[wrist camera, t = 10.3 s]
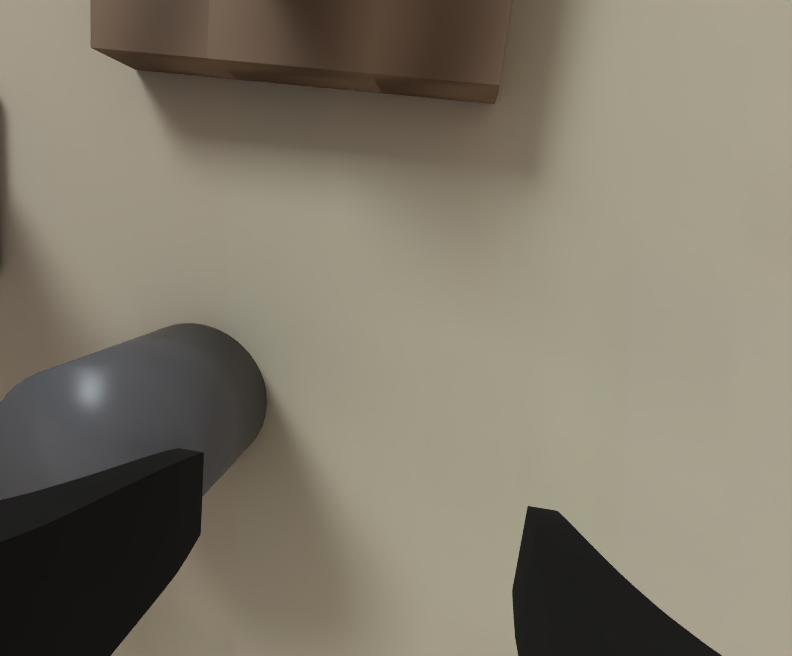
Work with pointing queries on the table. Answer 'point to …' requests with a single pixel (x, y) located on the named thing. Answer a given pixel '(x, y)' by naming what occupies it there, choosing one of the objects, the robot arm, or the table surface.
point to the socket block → (316, 42)
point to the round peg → (132, 409)
